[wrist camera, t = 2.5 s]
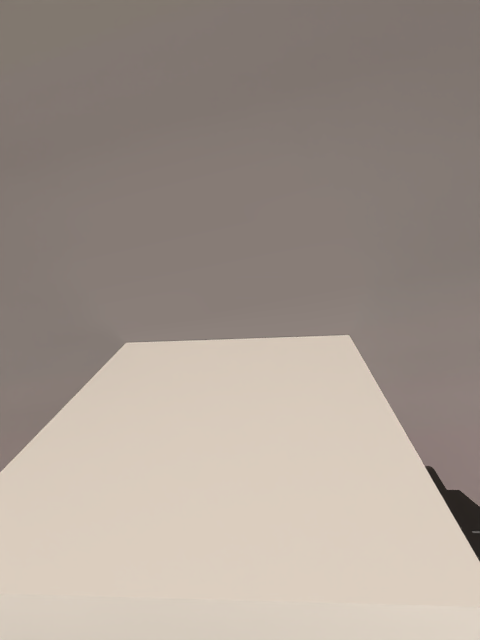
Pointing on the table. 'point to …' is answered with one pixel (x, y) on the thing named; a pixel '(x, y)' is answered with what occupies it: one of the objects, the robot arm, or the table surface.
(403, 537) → the cream colored box
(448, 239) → the table surface
